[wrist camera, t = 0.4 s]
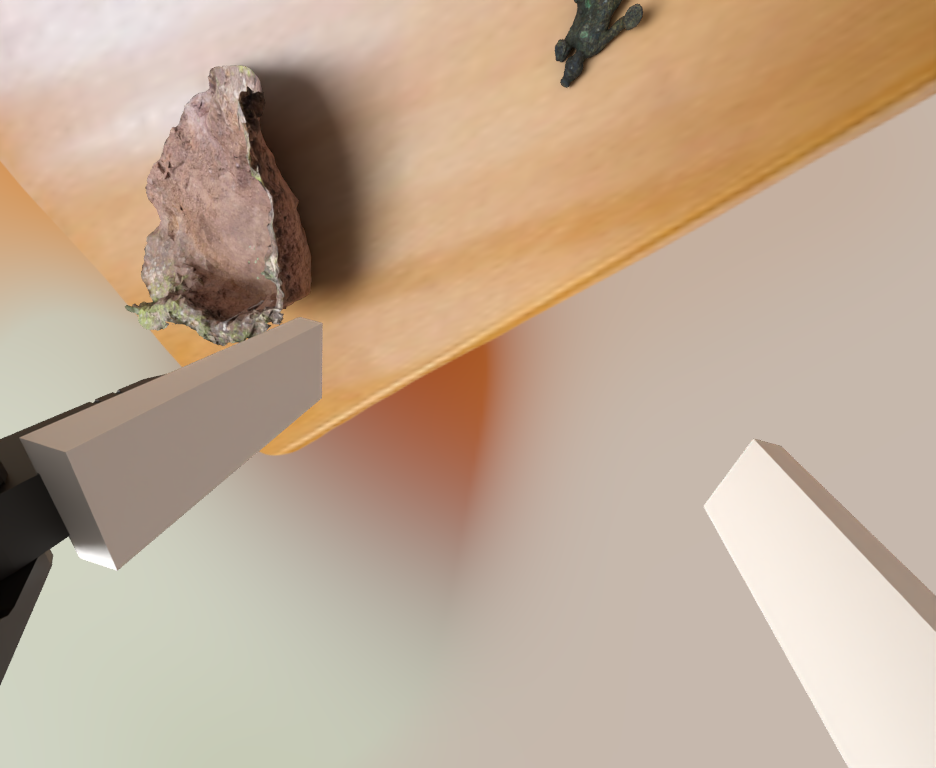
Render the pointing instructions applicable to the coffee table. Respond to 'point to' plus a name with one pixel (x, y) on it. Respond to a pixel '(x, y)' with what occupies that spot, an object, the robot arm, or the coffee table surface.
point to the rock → (222, 220)
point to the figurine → (592, 33)
